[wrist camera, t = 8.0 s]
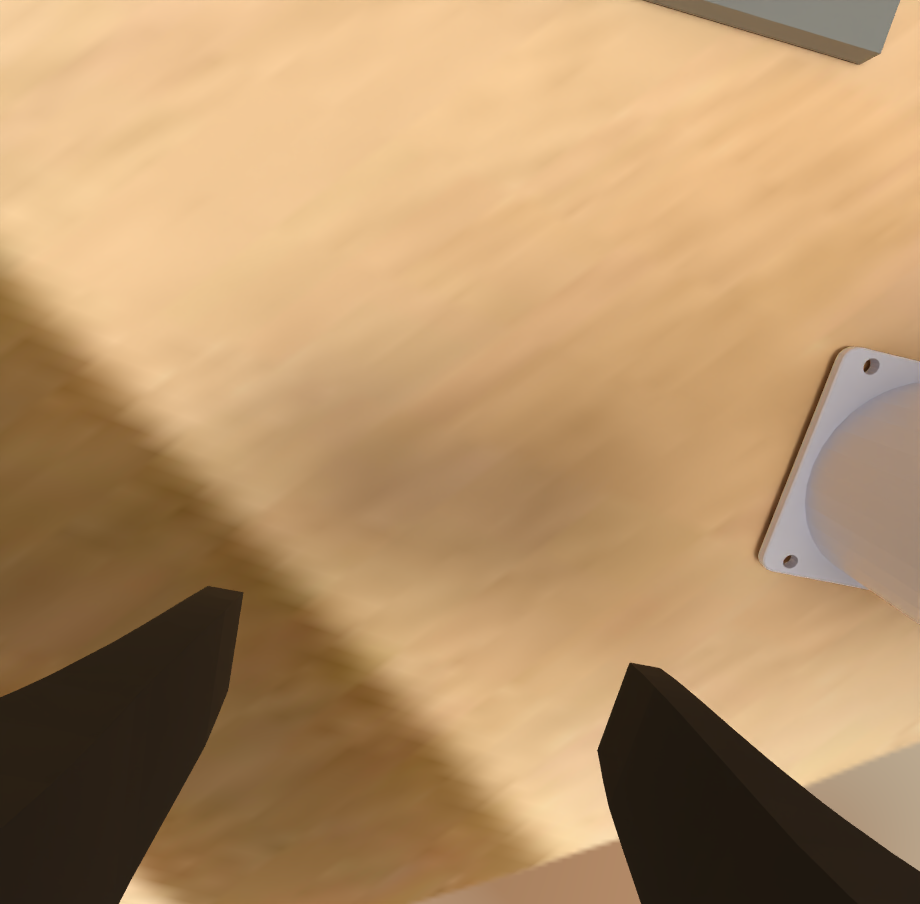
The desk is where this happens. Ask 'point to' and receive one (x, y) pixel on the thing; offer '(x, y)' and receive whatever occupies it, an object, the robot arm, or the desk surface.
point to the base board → (805, 22)
